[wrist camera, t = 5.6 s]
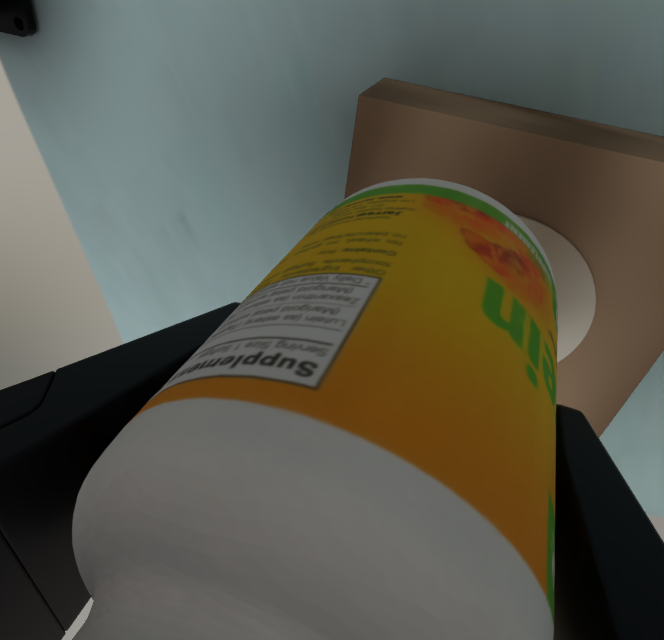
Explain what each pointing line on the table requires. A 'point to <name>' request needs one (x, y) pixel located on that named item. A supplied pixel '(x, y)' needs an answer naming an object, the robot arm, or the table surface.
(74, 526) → the supplement bottle
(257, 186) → the table surface
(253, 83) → the table surface
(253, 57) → the table surface
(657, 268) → the walnut base
